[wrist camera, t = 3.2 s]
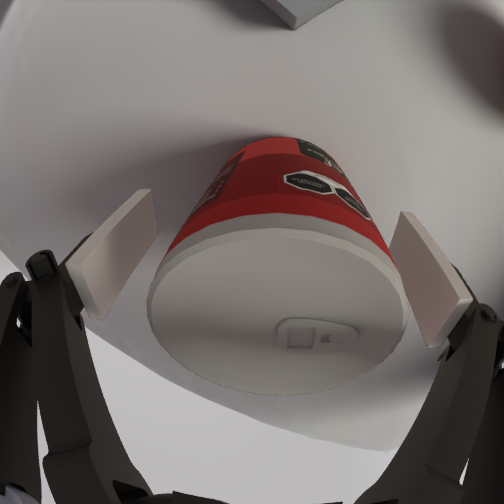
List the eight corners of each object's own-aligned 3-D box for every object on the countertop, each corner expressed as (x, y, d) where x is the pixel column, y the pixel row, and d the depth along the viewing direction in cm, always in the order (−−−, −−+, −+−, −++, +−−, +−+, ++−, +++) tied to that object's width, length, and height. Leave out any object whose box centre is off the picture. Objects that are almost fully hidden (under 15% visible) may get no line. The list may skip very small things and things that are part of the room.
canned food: (353, 232, 17) (399, 379, 8) (242, 256, 20) (209, 401, 11) (330, 119, 14) (417, 189, 4) (200, 156, 16) (96, 266, 7)
